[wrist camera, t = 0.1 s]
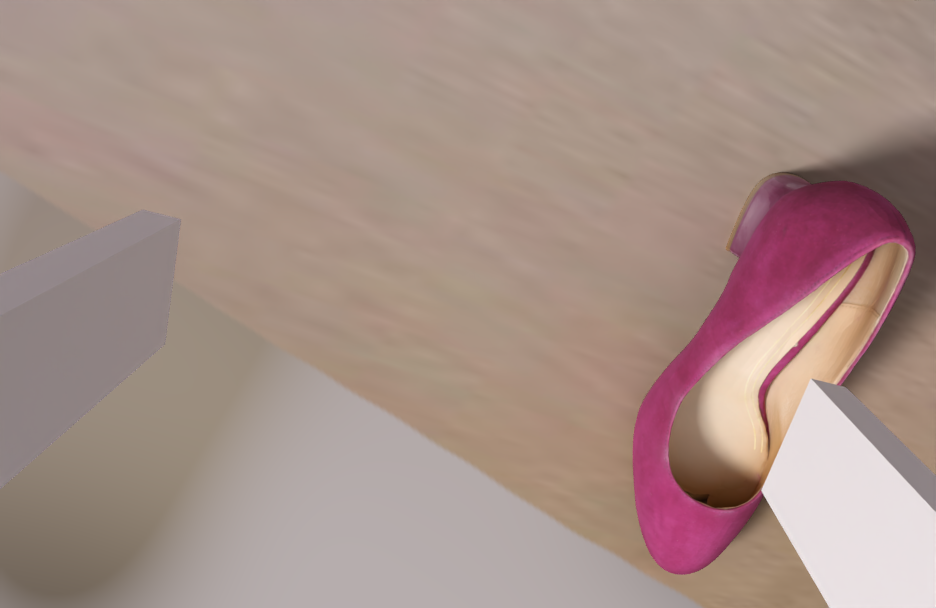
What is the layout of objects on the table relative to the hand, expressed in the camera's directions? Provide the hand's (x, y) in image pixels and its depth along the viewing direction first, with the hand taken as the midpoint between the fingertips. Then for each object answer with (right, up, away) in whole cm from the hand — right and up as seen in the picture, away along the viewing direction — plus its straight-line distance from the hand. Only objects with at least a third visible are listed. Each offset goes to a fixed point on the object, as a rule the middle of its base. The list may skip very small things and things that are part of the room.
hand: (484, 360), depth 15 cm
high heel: (+15, -3, +30) cm, 34 cm away
